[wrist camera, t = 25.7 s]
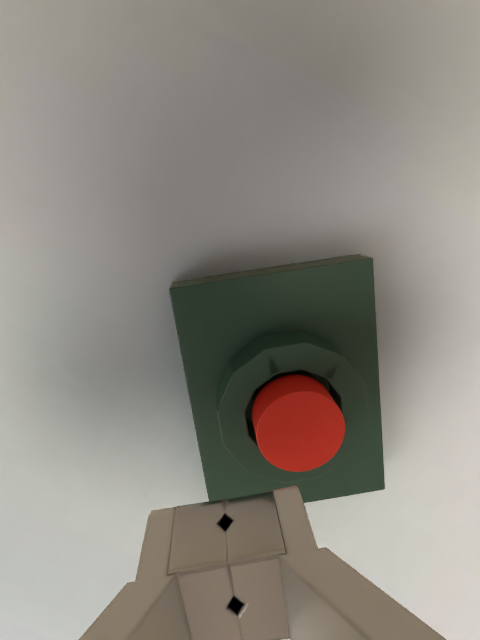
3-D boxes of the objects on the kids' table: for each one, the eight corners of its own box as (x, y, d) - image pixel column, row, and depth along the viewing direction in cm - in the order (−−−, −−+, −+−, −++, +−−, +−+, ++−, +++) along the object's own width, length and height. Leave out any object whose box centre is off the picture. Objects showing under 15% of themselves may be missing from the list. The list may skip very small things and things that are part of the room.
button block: (172, 281, 19) (164, 296, 16) (359, 253, 19) (390, 262, 16) (212, 496, 22) (212, 547, 19) (372, 469, 23) (401, 514, 19)
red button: (246, 380, 17) (250, 399, 16) (329, 367, 17) (342, 384, 16) (257, 454, 18) (262, 478, 17) (335, 441, 18) (348, 464, 17)
